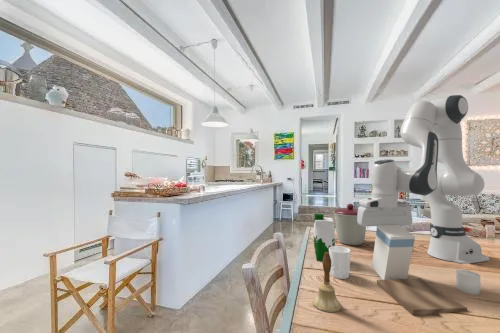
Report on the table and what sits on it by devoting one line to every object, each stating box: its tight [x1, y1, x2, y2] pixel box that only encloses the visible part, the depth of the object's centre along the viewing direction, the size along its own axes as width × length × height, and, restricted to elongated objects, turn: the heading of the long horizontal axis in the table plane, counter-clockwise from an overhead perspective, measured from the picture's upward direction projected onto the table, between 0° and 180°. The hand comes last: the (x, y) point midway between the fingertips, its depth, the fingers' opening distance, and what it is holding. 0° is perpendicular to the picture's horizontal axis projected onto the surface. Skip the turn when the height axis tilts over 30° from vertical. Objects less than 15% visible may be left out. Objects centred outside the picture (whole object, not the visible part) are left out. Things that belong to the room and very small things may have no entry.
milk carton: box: [313, 213, 336, 262], centre depth 111 cm, size 9×9×20 cm
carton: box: [371, 225, 415, 280], centre depth 91 cm, size 9×9×18 cm
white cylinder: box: [455, 269, 482, 296], centre depth 81 cm, size 6×6×6 cm
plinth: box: [376, 277, 468, 316], centre depth 78 cm, size 16×18×2 cm
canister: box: [332, 203, 367, 246], centre depth 133 cm, size 18×18×21 cm
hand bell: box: [312, 252, 342, 313], centre depth 75 cm, size 8×8×16 cm
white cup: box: [329, 245, 351, 280], centre depth 94 cm, size 8×8×10 cm
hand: (384, 237), depth 95 cm, fingers closed
